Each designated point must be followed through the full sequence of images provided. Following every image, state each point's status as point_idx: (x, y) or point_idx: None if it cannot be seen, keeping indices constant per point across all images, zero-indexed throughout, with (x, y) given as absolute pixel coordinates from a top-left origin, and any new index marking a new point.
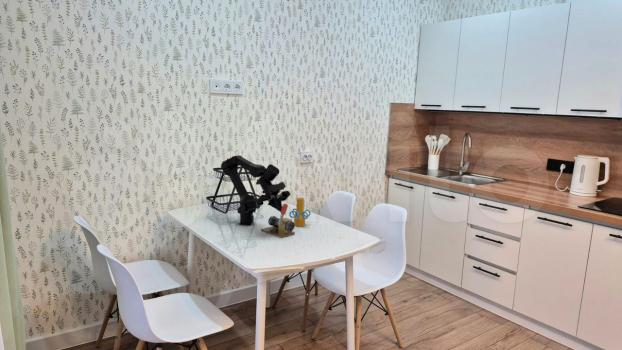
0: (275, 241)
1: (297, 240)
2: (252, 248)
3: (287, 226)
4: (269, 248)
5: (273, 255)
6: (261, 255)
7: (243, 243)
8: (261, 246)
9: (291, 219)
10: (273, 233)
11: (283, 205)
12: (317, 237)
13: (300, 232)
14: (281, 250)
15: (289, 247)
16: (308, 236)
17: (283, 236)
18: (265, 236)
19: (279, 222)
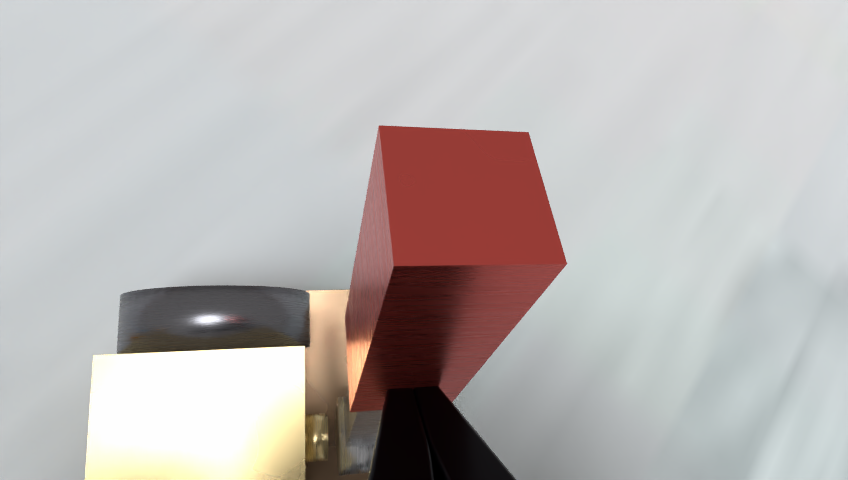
0: None
1: (321, 113)
2: (807, 240)
3: (304, 291)
4: (692, 139)
5: (748, 5)
6: (818, 69)
7: (817, 411)
8: (723, 228)
9: (93, 376)
10: None
11: (541, 244)
12: (30, 19)
13: (17, 315)
14: (638, 33)
15: (535, 32)
16: (88, 121)
17: None
18: (520, 471)
19: None
